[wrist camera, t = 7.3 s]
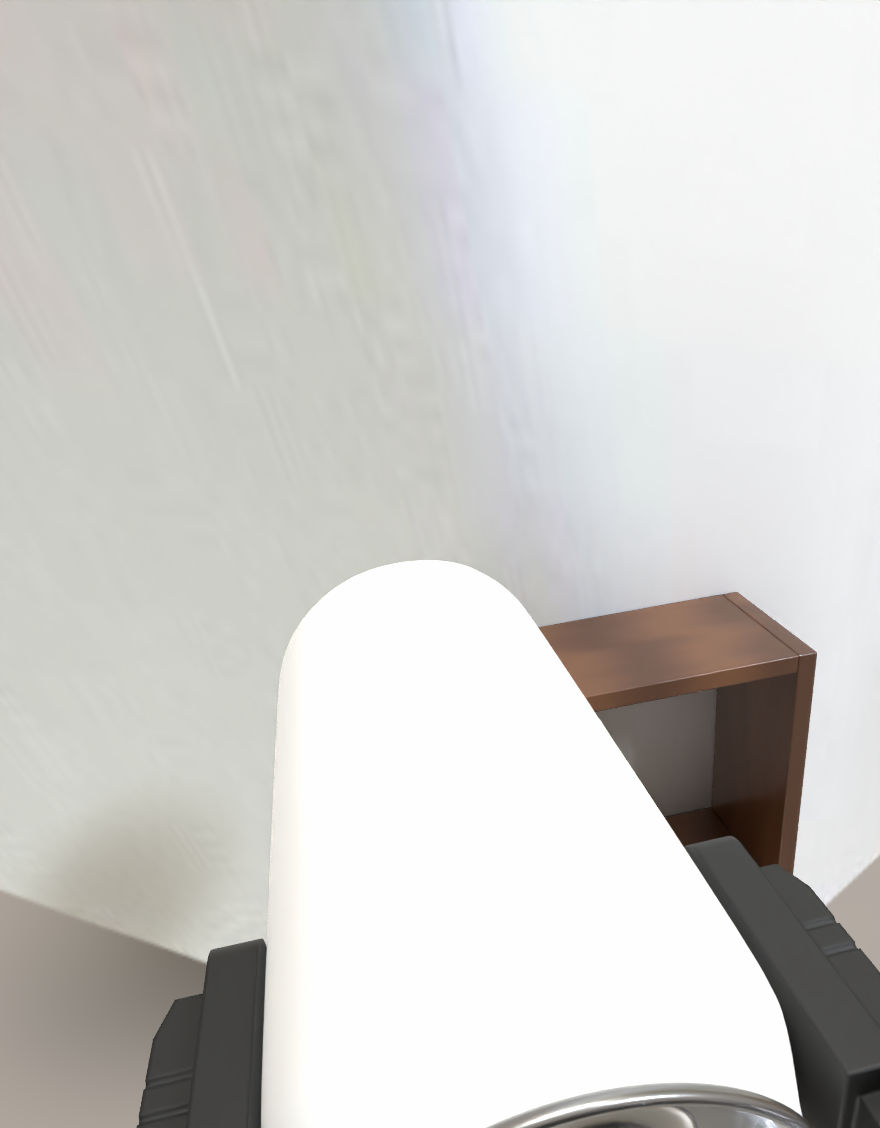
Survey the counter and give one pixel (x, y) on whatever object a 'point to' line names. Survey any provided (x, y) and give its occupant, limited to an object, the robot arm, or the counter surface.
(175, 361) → the counter surface
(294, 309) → the counter surface
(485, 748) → the can
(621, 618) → the crate
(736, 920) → the robot arm
